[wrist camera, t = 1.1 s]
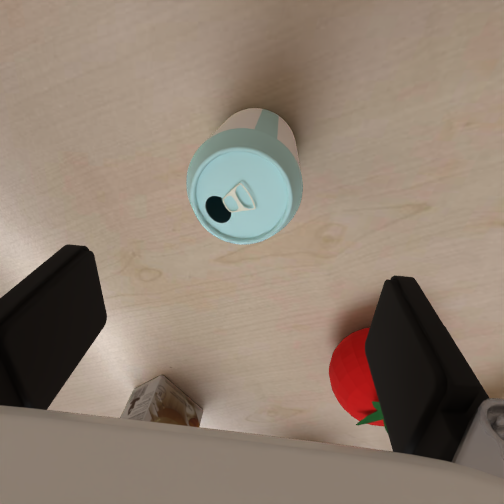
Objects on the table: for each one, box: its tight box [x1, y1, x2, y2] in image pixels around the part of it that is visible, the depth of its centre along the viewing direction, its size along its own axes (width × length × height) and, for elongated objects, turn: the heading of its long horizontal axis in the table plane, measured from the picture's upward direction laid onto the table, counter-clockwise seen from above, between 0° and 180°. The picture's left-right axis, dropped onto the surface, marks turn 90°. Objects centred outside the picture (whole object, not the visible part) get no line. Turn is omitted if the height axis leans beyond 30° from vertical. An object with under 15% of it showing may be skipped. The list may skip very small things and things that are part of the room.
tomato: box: [329, 328, 388, 433], centre depth 34 cm, size 10×10×10 cm
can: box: [186, 108, 303, 244], centre depth 23 cm, size 7×7×12 cm
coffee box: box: [120, 375, 203, 427], centre depth 40 cm, size 9×6×16 cm
